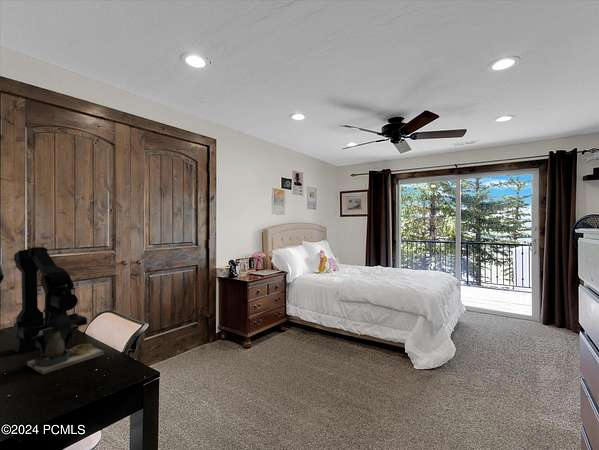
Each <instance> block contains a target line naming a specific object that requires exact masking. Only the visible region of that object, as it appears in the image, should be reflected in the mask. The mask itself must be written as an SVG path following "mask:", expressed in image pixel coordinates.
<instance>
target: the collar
mask: <svg viewBox="0 0 599 450" xmlns="http://www.w3.org/2000/svg"><path fill="white" fill-rule="evenodd" d="M71 357H72V351H70V349H68V348H66V349H65V348H64V351H63V353H62V354H61V357H58V358H55V359H47V358H46V357H45V355H44V353H41V354H40V355H38V356H36V357H35V358H34V360H35V364H36V365H37V366H39V367H42V366H53V365H56V364H60V363H63V362H66V361H68V360H69V359H70V358H71ZM44 359H46V360H44Z"/></svg>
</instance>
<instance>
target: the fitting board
mask: <svg viewBox="0 0 599 450" xmlns="http://www.w3.org/2000/svg"><path fill="white" fill-rule="evenodd" d="M69 350H70V351H72V348H70V349H69ZM102 355H105V351H104V350H102V349H99V348H97V347H94V346H93V350H92V351H91V352H89V353H86V354H82V355H74V354H72V357H71V358H70V359H69V360H68V361H66V362H63V363H60V364H56V365H53V366H42V367H39V366H37V365H36V364H35V359H31V360H28V361H27V362H26V366H28V367H29V368H31V369H33V370H34V371H36V372H38V374H39V373H40V374H41V375H45V374H48V373H51V372H53V371H54V372H55V371H57V370H60V369H63V368H67V367H69V366H72V365H75V364H79V363H81V362H85V361H88V360H90V359H94V358H96V357H100V356H102ZM59 357H61V356H59ZM47 359H48V358H47ZM44 360H46V359H44Z"/></svg>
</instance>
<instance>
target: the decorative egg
mask: <svg viewBox="0 0 599 450" xmlns="http://www.w3.org/2000/svg"><path fill="white" fill-rule="evenodd" d="M44 344H45V353H44V355H45V357H46V358H48V359H55V358H58V357H59V356H61V354H62V353H63V351H64V349H65V348H66V347H65V343H64V339H63V334H62V333H61V332H55V331H54V330H52V331H51V332H50V333H49V334H48V336H46V337H45V340H44Z"/></svg>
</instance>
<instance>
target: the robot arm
mask: <svg viewBox="0 0 599 450" xmlns="http://www.w3.org/2000/svg"><path fill="white" fill-rule="evenodd" d="M13 261H14V263H15V267H16V268H17V269H18V270H19V272H21V310H20V312H19V313H18V314H17V316H16V319H15V320H16V321H15V322H14V325H13V326H12V329H11V336H12V337H13V338H15V339H17V348H14V349H13V351H15V352H16V353H18V354H24V353H28V352H31V351H35V350H38V349H39V350H40V352H41V354H43V353H45V339H46V334H44V332H46V331H49V330H53V331H55V332H60V333H61V332H62V337H63V339H64V343H65V348H67V345H68V343H69V341H70V338H71V336H72V334H73V333H74V332H75V331H76V330H78V329H79V327H82V326H85V325H88V318H87V316H84V315H79V314H78V313H70V314H68V311H70V310H72V309H75V307H76V306H77V304H78V303H79V300H78V297H77V295H75V294H73V293H72V291H73V290H74V286H75V284H74V282H73V280H72V278H71V276H70V274H69V273H68V271H67V270H66V269H65V268H64V267H60V266H57V264H56V263H55V261H54V260H53V259H52V256H51V255H50V254H49V253H48V249H47V247H44V246H35V247H34V246H33V247H28V248H26V249H21V250H18V251H17V252H15V253H14V255H13ZM38 271H39V272H40V274H41V277H40V285H41V287H42V289H43V292H44V309H43V311H41V309H39V307H38V304H39V303H38Z"/></svg>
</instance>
